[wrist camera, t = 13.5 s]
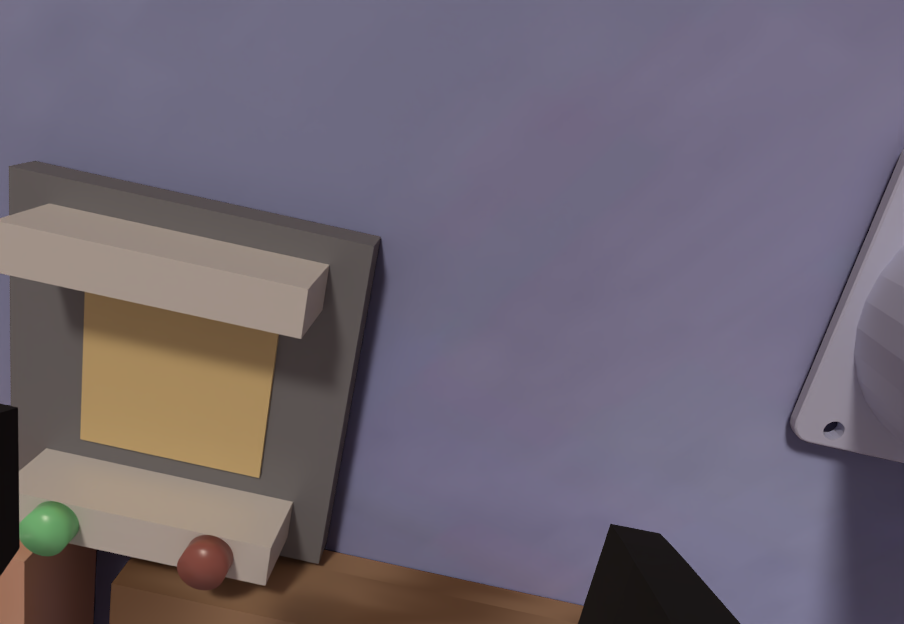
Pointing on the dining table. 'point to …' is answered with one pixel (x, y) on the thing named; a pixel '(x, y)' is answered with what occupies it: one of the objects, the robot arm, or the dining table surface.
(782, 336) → the dining table surface
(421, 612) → the trough
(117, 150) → the dining table surface
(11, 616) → the small wooden tray
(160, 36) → the dining table surface
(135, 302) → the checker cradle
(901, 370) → the robot arm
